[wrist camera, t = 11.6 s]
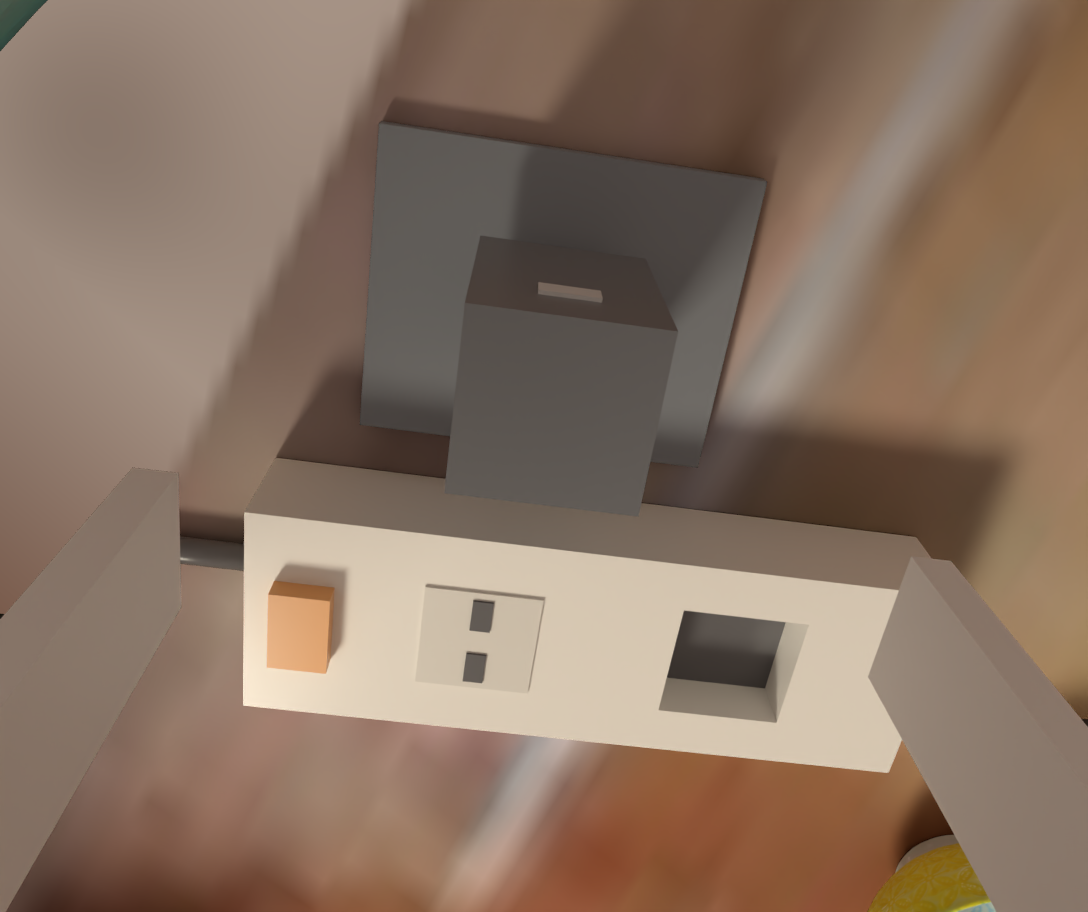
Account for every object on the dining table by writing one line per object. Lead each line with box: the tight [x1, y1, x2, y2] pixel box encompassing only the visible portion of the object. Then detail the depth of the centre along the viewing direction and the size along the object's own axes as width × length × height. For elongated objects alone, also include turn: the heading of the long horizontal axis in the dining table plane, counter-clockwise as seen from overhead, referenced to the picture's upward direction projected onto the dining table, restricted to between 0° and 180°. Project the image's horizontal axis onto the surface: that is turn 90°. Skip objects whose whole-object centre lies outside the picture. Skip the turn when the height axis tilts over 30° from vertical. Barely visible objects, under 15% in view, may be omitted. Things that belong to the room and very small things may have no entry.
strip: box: [180, 458, 932, 773], centre depth 33 cm, size 30×8×5 cm, turn 82°
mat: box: [360, 121, 767, 468], centre depth 31 cm, size 12×10×1 cm
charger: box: [444, 236, 678, 517], centre depth 26 cm, size 5×5×9 cm
